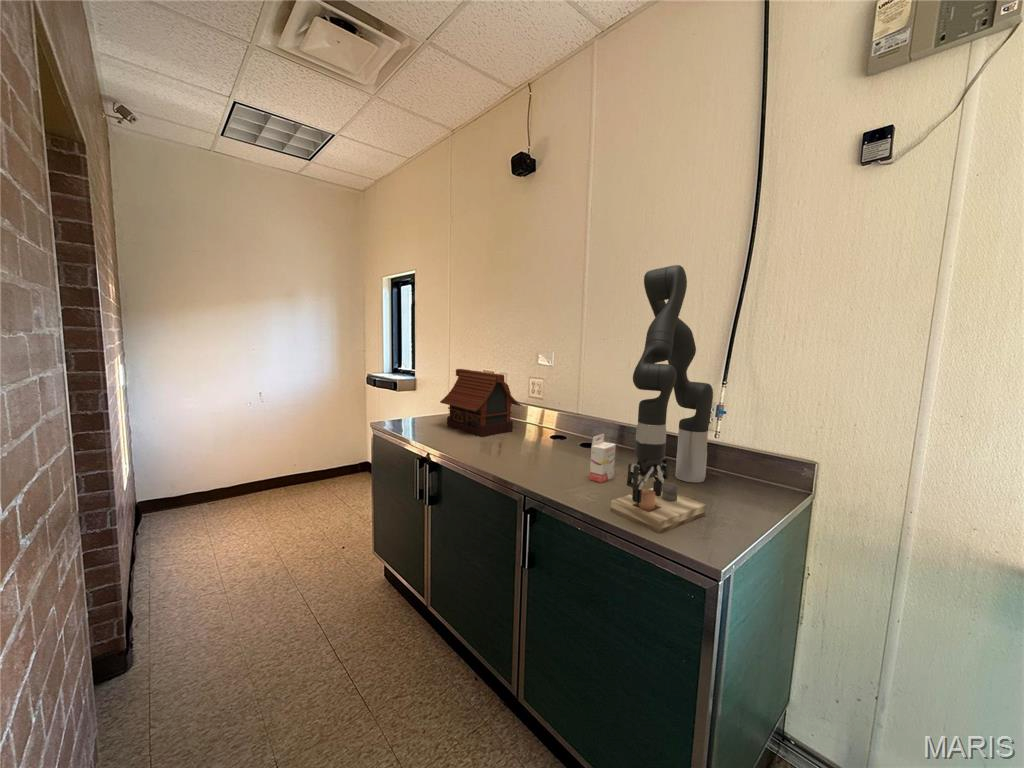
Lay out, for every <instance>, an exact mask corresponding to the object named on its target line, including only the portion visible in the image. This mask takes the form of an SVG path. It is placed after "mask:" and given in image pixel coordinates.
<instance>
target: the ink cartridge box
mask: <svg viewBox="0 0 1024 768" xmlns="http://www.w3.org/2000/svg"><path fill="white" fill-rule="evenodd" d="M591 441H592V442H591V449H590V468H589V480H590V481H593V482H597V483H601V484H603V483H604V482H607V481H609V480H611V479H613V478H614V474H615V462H616V461H615V457H616V445H617V444H616V443H612V442H605V433H602V434H598V435H595V436H593V437H592V440H591Z"/></svg>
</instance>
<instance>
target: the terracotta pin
mask: <svg viewBox="0 0 1024 768" xmlns="http://www.w3.org/2000/svg"><path fill="white" fill-rule="evenodd" d="M641 489H642V488H641ZM649 489H650V488H643V489H642V495H641V503H639V508H640V509H642V510H644V511H647V512H651V511H654V509H655V491H653V490H649Z"/></svg>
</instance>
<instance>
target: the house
mask: <svg viewBox="0 0 1024 768" xmlns="http://www.w3.org/2000/svg"><path fill="white" fill-rule="evenodd" d="M455 377H457V379H456V381H455V383H454V384H453V386H452V388H451V389H450V391H449V392H448V393H447V395H445V396H444V398H443V399H441V400H440V401H439V403H440V404H443V405H448V406H449V407H447V409H448V410H449V415H448V416H447V417H446V420H447V421H446V426H447V427H448V428H451V429H454V430H456V431H457V430H458V431H460V432H464V433H467V434H470V435H474V436H476V437H479V438H485V437H490V436H495V435H501V434H505V433H508V434H509V433H512V432H513V428H514V427H513V426H514V425H513V424H514V422H513V420H511V414H513V411H511V408H512V407H513V405H515V406H519V407H520V406H521V403H519V402H518V401H517V400H516V399H515V398H514V397H513V396H512V393H511V390H510V386H509V384H508V383H506V382H505V375H504V374H502V373H501V374H499V373H491V372H486V371H484V372H483V371H478V370H473V369H472V370H471V369H464V368H455Z"/></svg>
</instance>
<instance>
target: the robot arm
mask: <svg viewBox="0 0 1024 768" xmlns="http://www.w3.org/2000/svg"><path fill="white" fill-rule="evenodd" d="M643 276H644V277H643V286H644V291H645V293H646V297H647V301H648V302H649V306H650V307H651V311H652V313H653V315H654V319H653V320H652V322H651V323H650V325H649V327H648V329H647V332H646V336H645V343H644V348H643V349H644V350H643V352H642V355H641V357H640V358H639V360H638V362H637V364H636V365H635V368H634V370H633V373H632V374H633V375H632V381H633V385H634V386H635V388H636V389H637V390H641V391H650V392H651V391H653V392H659V395H658V396H657V397H653V398H645V399H642V400H641V401H640V402H639V403H638V410H637V411H638V412H637V413H638V414H637V415H638V416H637V424H636V430H635V449H634V455H635V456H636V458H637V462H636V463H635V464H633V463H629V464H628V466H627V467H628V468H627V478H626V486H627V487H629V488H632V493H631V494H633V495H632V499H633V501H634V502H636V503H641V495H642V488H643V486H644V484H645V483H647V482H648V480H649V479H651V478H653V480H654V481H653V485H652V486H653V487H652V488H653V491H655V495H656V496H658V497H659V496H661V494H662V487H663V483H665V480H668V479H669V474H670V473H669V472H670V470H669V468H670V466H669V465H670V459H669V458H667V457H666V445H667V412H668V404H669V401H670V397H671V395H672V392H674V398H675V400H676V403H677V405H678V406H679V407H681V408H684V409H689V410H695V414H694V415H693V416H691V417H685V418H682V419H680V420H679V422H678V433H677V449H676V462H675V463H676V465H675V474H674V475H675V478H676V479H678V480H680V481H682V482H687V483H694V484H695V483H697V484H699V483H703V482H705V479H706V474H707V461H708V460H707V459H708V438H709V437H708V435H709V426H710V422H711V414H712V406H713V400H714V399H713V398H714V390H713V387H712V385H711V384H710V383H706V382H700V381H699V382H697V381H690V380H689V378H688V373H687V371H688V368H689V367H690V365H691V364H692V363H693V360H694V358H695V356H696V352H697V347H696V342H695V338H694V334H693V331H692V329H691V328H690V327H689V325H688V324H686V323H685V322H684V321H683V320H682V319H681V318H679V316H680V313H681V310H682V307H683V305H684V304H683V303H684V301H685V296H686V293H687V288H688V287H687V286H688V280H687V279H688V278H687V274H686V271H685V268H684V267H683V266H682V265H680V264H675V265H669V266H664V267H659V268H655V269H651V270H648V271H646V273H645V274H644V275H643ZM666 300H667V301H666ZM666 361H667V363H668V364H667V363H662V362H666ZM663 471H664V472H663ZM638 481H639V482H638Z"/></svg>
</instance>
